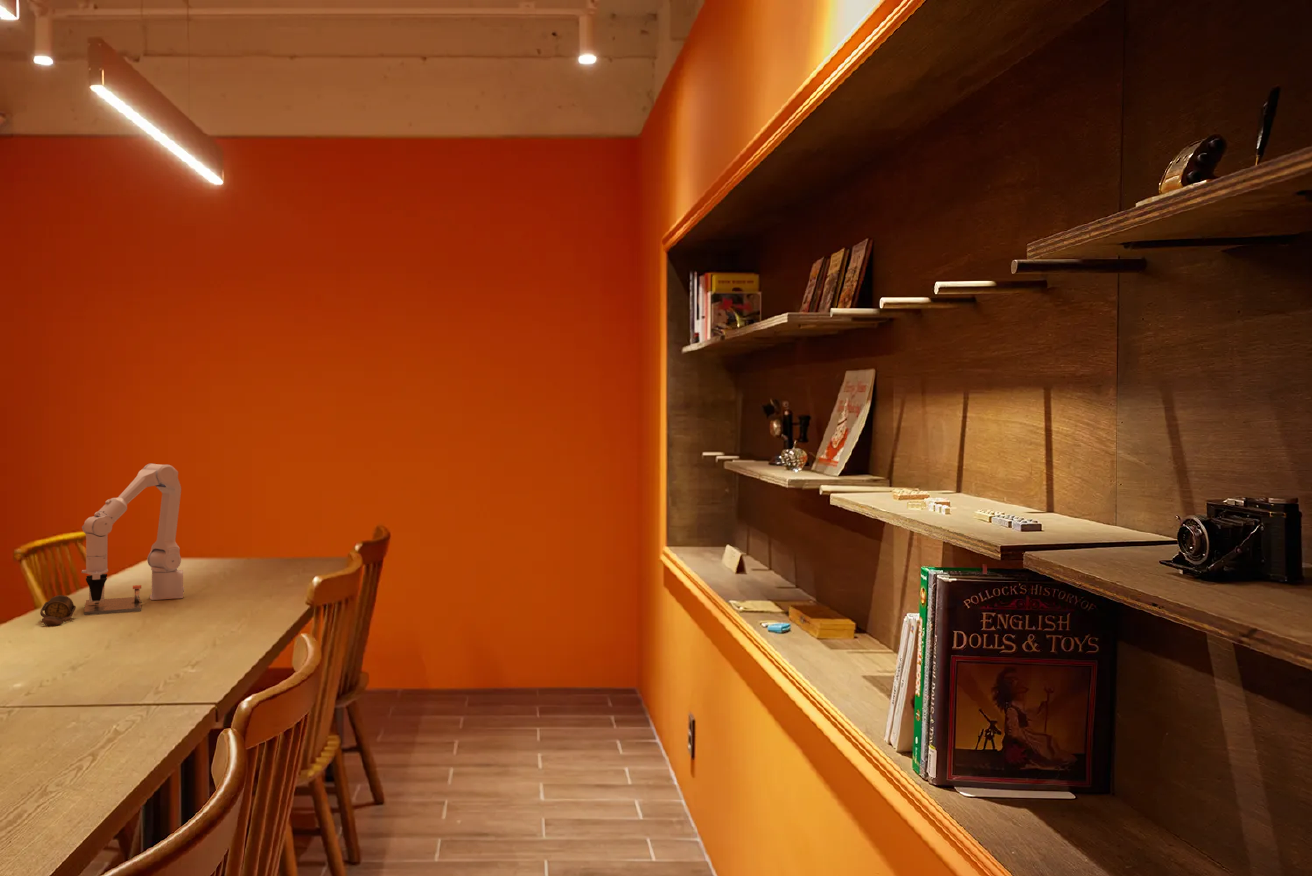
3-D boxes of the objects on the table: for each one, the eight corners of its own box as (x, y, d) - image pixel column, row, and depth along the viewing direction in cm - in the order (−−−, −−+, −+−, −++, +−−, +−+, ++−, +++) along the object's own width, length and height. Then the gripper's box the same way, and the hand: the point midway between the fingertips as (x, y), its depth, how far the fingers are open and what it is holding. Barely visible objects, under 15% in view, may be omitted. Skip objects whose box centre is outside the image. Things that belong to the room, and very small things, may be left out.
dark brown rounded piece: (89, 599, 286) (56, 591, 286) (63, 603, 273) (29, 595, 273) (82, 623, 285) (50, 615, 286) (55, 628, 273) (21, 620, 273)
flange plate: (141, 599, 314) (141, 580, 313) (142, 611, 296) (142, 591, 296) (86, 603, 306) (86, 583, 306) (84, 615, 289) (84, 594, 289)
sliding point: (104, 602, 302) (104, 583, 301) (104, 604, 298) (104, 585, 298) (89, 603, 300) (89, 584, 300) (89, 605, 296) (89, 586, 296)
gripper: (82, 553, 303) (82, 596, 303) (81, 559, 290) (80, 604, 290) (108, 552, 306) (108, 594, 307) (108, 558, 294) (107, 602, 294)
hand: (96, 599), depth 299 cm, fingers closed on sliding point, 4 cm apart
